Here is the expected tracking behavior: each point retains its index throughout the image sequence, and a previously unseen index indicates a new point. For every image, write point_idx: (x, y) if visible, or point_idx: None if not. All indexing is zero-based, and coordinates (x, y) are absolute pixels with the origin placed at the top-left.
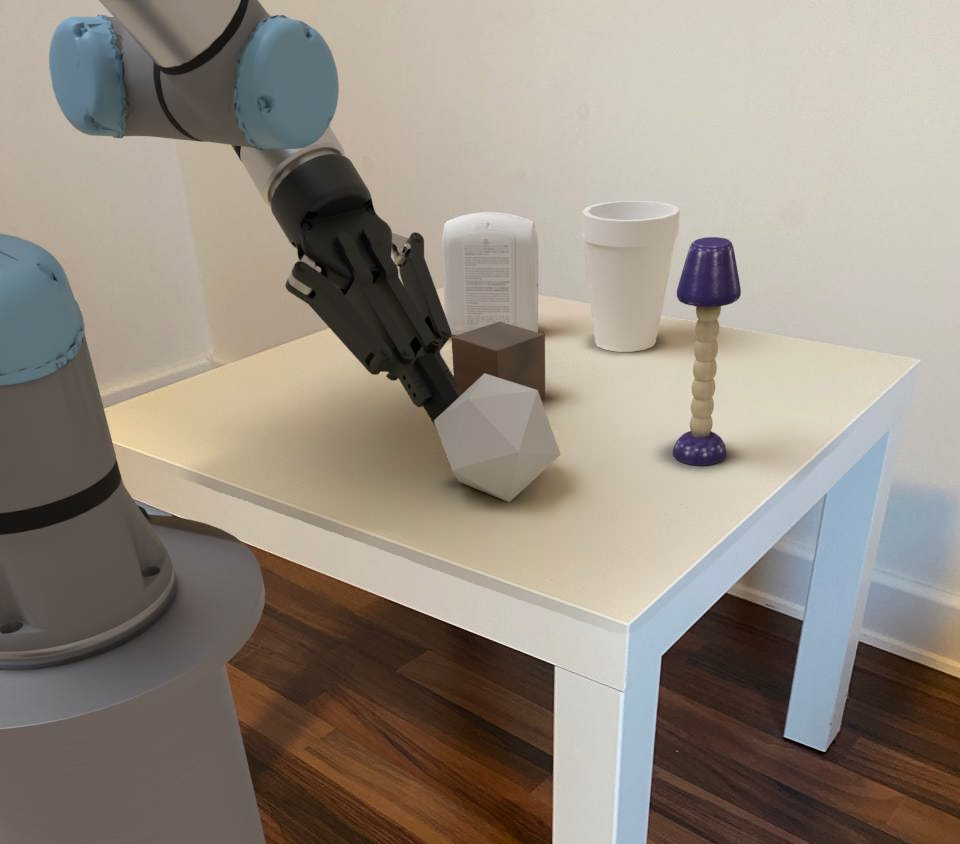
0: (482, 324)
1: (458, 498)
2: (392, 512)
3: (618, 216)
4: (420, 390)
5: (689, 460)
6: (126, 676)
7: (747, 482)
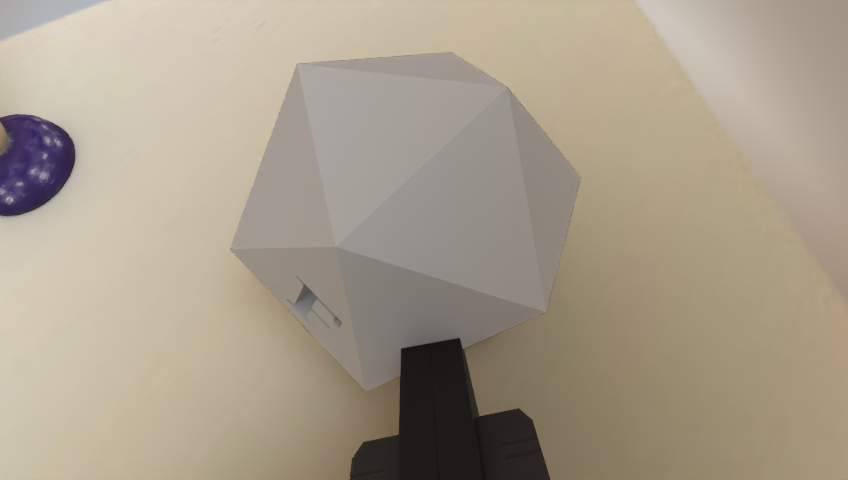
0: None
1: None
2: (714, 291)
3: None
4: (525, 428)
5: (68, 143)
6: None
7: (72, 50)
